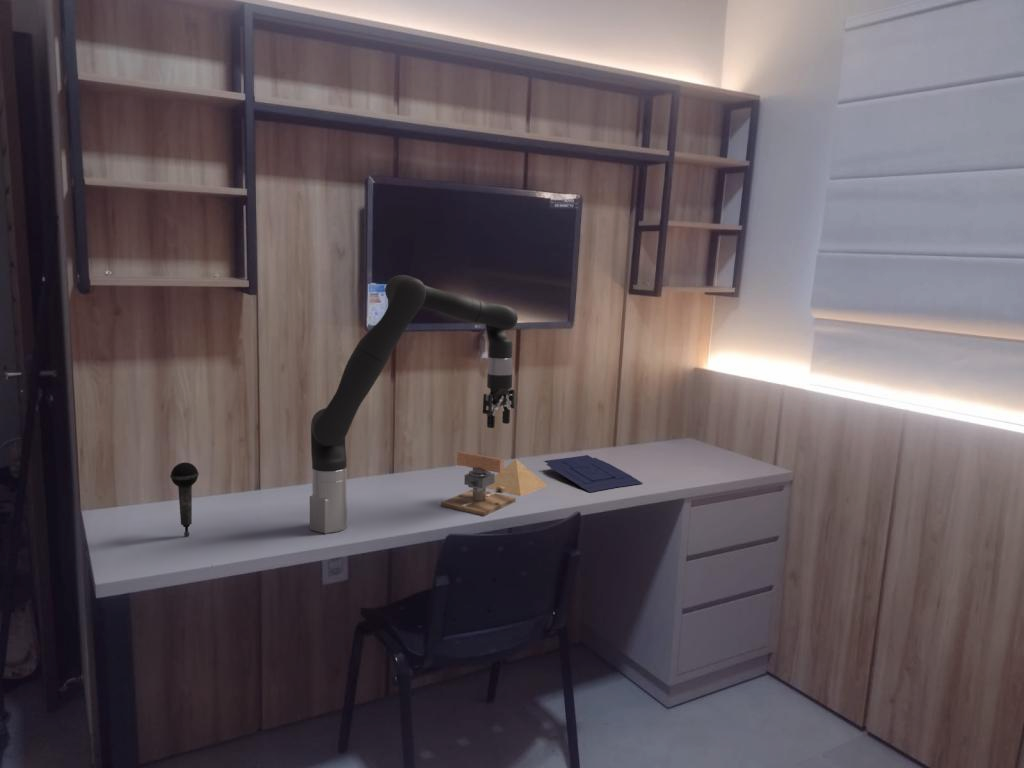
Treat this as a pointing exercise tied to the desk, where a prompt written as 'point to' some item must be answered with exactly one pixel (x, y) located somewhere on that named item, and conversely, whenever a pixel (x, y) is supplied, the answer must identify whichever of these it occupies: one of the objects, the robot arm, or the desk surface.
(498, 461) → the lever handle
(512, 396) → the robot arm
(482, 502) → the post base
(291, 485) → the desk surface
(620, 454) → the desk surface
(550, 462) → the dark blue flat panel
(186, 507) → the microphone
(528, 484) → the model pyramid
